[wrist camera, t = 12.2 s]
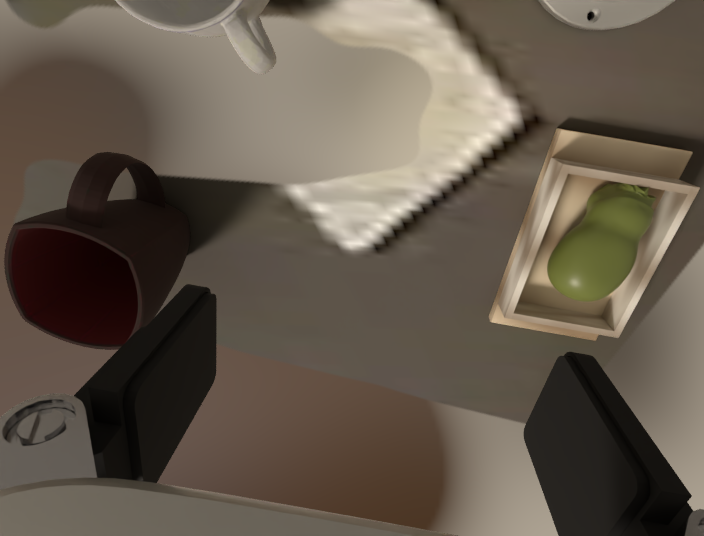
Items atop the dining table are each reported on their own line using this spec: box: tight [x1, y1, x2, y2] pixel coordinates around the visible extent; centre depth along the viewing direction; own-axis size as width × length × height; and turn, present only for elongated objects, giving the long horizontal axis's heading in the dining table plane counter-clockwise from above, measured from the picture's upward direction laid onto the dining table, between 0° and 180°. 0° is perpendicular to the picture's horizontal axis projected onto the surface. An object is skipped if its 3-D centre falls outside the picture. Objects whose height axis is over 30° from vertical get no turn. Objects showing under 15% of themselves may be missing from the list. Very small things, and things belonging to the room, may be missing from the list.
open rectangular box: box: [489, 128, 700, 341], centre depth 35 cm, size 18×10×4 cm, turn 171°
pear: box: [547, 183, 656, 302], centre depth 33 cm, size 6×5×10 cm
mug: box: [5, 152, 190, 350], centre depth 33 cm, size 10×14×12 cm
